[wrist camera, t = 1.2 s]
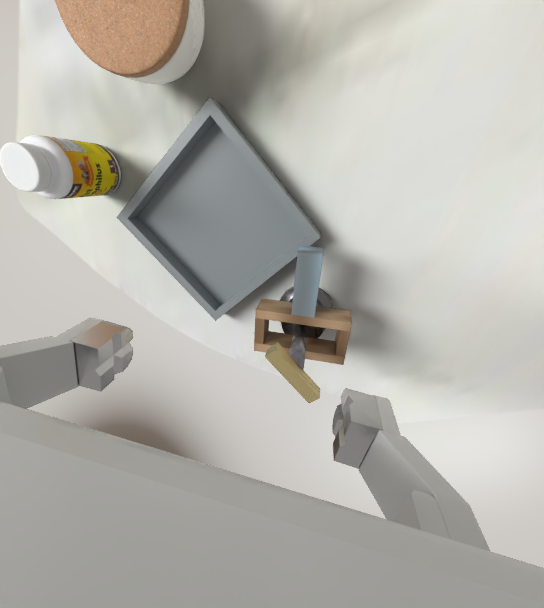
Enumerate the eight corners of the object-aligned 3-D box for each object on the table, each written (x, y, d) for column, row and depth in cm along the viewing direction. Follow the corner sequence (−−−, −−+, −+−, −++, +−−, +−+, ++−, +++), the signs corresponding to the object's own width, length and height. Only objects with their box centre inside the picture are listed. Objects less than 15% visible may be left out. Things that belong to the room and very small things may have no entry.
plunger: (267, 304, 37) (237, 367, 25) (309, 273, 34) (298, 327, 22) (301, 342, 39) (287, 419, 26) (343, 315, 36) (351, 387, 24)
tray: (218, 103, 29) (209, 97, 27) (320, 233, 32) (320, 237, 30) (130, 214, 36) (116, 217, 33) (222, 312, 39) (215, 320, 37)
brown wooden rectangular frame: (361, 251, 28) (365, 259, 26) (342, 349, 33) (343, 364, 31) (264, 241, 30) (258, 248, 27) (259, 336, 35) (254, 350, 32)
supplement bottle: (115, 204, 35) (40, 214, 26) (76, 176, 35) (-14, 176, 26) (130, 163, 33) (53, 158, 24) (88, 132, 32) (-6, 115, 23)
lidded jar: (228, -41, 24) (174, -154, 16) (216, 107, 29) (169, 79, 21) (114, -57, 25) (7, -173, 17) (120, 88, 30) (39, 54, 22)
